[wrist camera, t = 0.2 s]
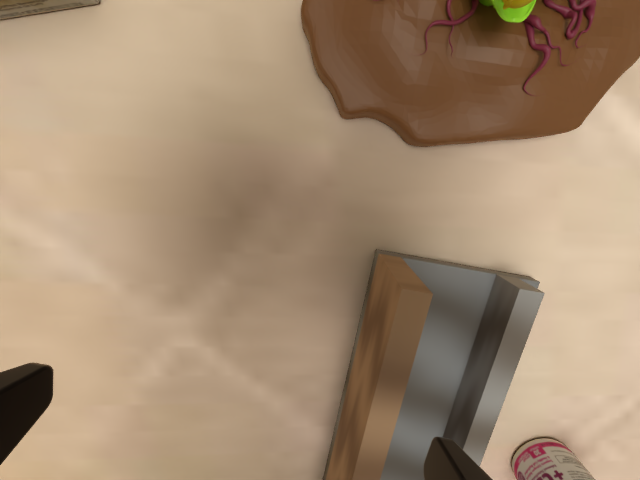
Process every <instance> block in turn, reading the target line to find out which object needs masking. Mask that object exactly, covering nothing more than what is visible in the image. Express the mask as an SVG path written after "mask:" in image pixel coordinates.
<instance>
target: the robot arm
mask: <svg viewBox="0 0 640 480" xmlns="http://www.w3.org/2000/svg"><path fill="white" fill-rule="evenodd" d="M52 397H53V369H52V367H51V366H49V365H45V364H39V363H28V364H25V365H22V366H19V367H16V368H13V369H10V370H7V371H3V372H0V465H1V464H2V463H3V461H4V460H5V459H6V458H7V456H8V455H9V454H10V453H11V452H12V450H13V449H14V448H15V447H16V445H17V444H18V443H19V442H20V441H21V439H22V438H23V437H24V436H25V435H26V433H27V432H28V431H29V430H30V428H31V427H32V426H33V425H34V424H35V422H36V421H37V420H38V419H39V417H40V416H41V415H42V414H43V413H44V411H45V410H46V409H47V408H48V406H49V404H50V403H51V400H52ZM423 471H424V479H425V480H492V479H491V478H490V477H489V476H488V475H487V474H486V473H485V472H484V471H483V470H482V469H481V468H480V467H479V466H478V465H477V464H476V463H475V462H474V461H473V460H472V459H471V458H470V457H469V456H468V455H467V454H466V453H465V452H464V451H463V450H462V449H461V448H460V447H459V446H458V445H457V443H456V442H454V441H453V440H452V439H449V438H444V437H438V436H437V437H434V438H433V440H432V442H431V445H430V447H429V450H428V453H427V456H426V459H425V462H424V469H423Z"/></svg>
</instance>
